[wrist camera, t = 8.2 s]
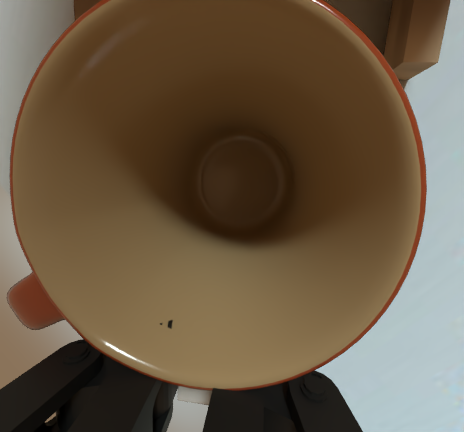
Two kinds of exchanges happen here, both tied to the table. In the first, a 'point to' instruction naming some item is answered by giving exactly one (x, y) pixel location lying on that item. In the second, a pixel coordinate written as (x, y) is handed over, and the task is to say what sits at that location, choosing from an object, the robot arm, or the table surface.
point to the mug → (215, 188)
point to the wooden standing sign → (393, 33)
